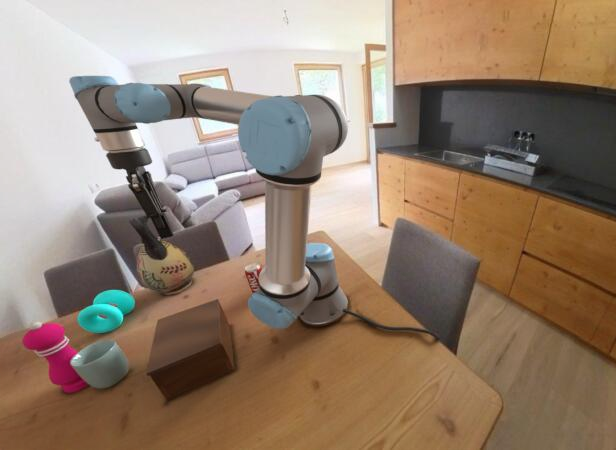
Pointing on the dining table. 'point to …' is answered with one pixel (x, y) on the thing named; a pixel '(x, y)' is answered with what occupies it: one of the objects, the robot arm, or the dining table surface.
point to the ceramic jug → (161, 262)
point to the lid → (185, 336)
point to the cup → (101, 364)
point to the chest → (198, 367)
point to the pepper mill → (54, 354)
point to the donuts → (106, 311)
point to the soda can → (253, 275)
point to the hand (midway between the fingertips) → (167, 236)
